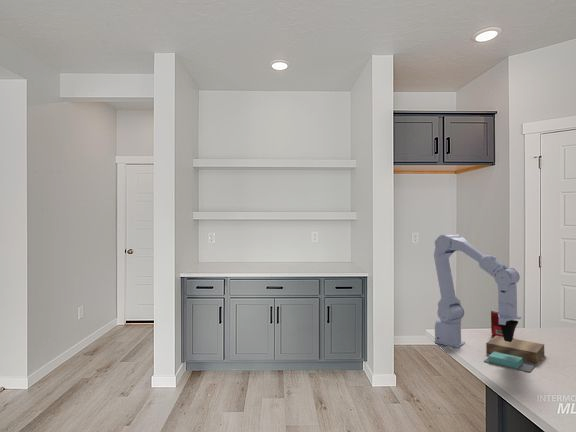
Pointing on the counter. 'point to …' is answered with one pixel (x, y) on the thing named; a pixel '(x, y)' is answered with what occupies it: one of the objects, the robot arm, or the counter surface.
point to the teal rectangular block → (505, 359)
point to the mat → (524, 367)
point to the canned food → (495, 323)
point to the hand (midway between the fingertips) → (508, 341)
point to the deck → (516, 349)
